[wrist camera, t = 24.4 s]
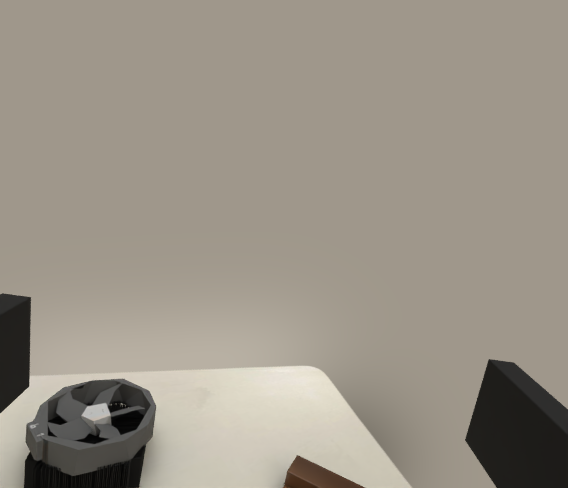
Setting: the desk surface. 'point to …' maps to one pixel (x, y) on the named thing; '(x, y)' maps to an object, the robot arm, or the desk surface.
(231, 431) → the desk surface
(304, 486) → the tape holder
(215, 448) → the desk surface
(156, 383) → the desk surface
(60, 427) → the cpu cooler
